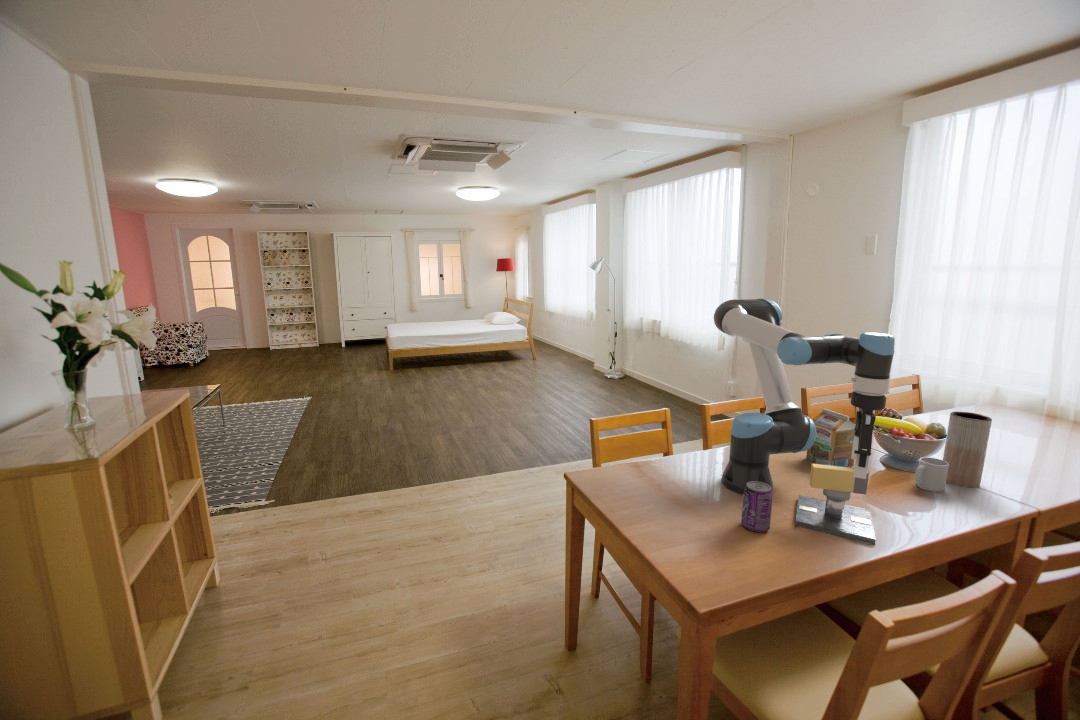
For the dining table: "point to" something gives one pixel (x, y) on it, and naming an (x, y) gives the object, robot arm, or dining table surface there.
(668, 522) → the dining table surface
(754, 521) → the beverage can
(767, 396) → the robot arm
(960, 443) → the planter
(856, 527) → the post base
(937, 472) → the grey cup
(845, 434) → the milk carton
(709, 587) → the dining table surface
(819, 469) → the handle
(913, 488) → the dining table surface
